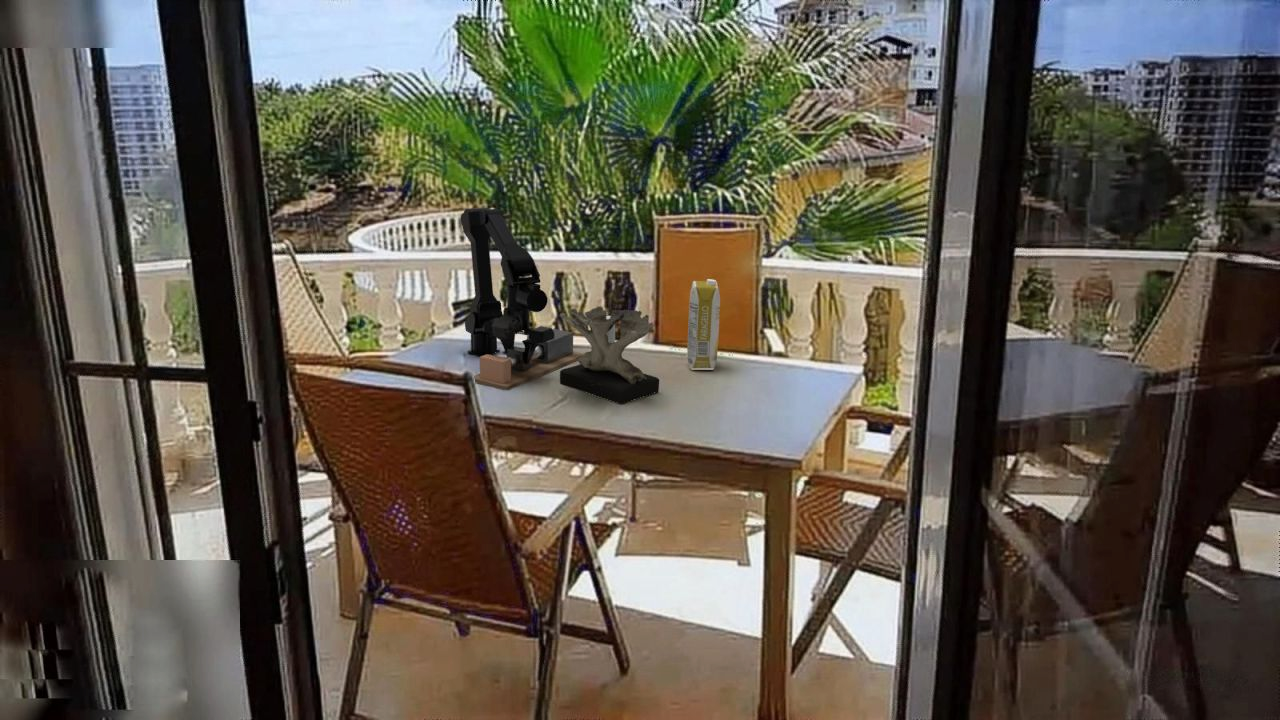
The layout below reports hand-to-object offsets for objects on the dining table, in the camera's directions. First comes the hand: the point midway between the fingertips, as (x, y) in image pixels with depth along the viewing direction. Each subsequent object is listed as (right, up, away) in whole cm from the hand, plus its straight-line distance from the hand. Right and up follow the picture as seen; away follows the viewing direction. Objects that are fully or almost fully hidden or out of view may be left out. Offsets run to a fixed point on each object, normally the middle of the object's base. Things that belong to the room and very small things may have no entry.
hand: (518, 362), depth 263 cm
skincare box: (+21, +1, +15) cm, 26 cm away
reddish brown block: (-5, -4, -7) cm, 10 cm away
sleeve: (+7, +1, +13) cm, 15 cm away
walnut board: (+2, -2, +5) cm, 6 cm away
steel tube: (+3, 0, +6) cm, 7 cm away
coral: (+22, -8, -11) cm, 26 cm away
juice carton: (+48, -1, +12) cm, 49 cm away
